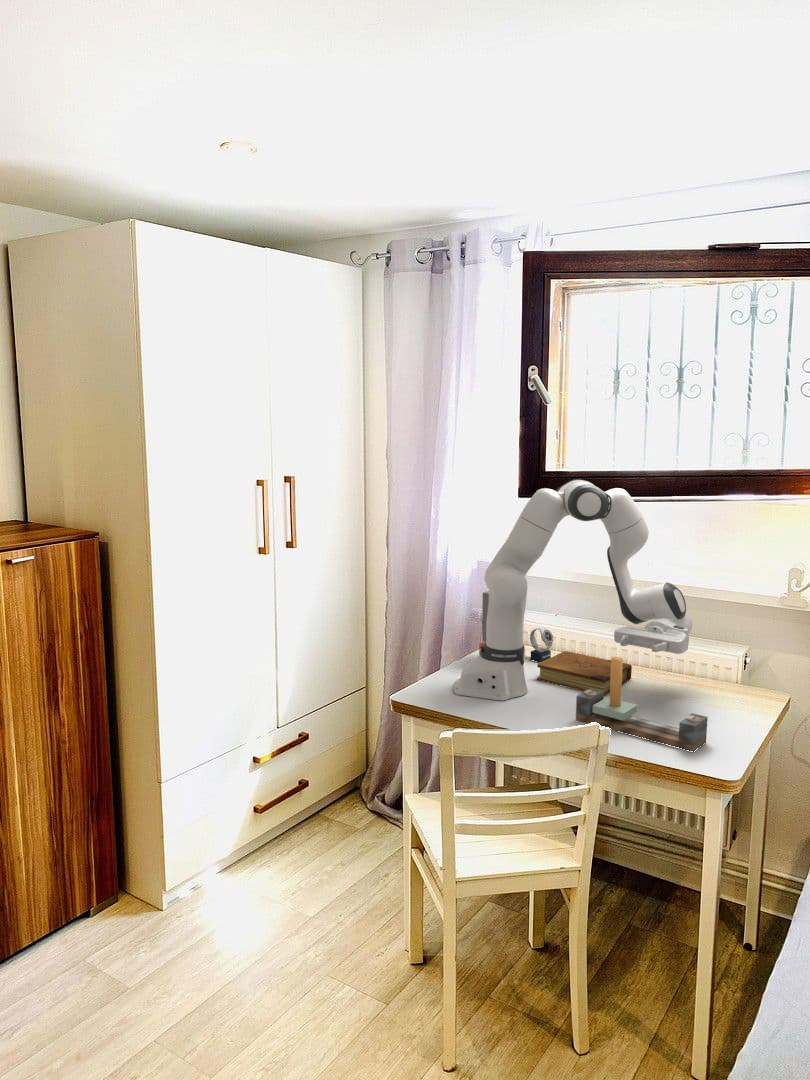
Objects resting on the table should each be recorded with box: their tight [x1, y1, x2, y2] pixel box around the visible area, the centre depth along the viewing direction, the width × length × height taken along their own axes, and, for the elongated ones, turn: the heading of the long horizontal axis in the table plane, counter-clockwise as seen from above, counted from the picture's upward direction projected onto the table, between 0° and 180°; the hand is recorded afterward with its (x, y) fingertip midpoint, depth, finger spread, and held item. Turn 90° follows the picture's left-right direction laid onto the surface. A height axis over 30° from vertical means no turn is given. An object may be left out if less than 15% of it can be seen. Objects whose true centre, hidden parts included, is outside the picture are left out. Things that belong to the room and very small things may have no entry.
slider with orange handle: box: [593, 656, 638, 721], centre depth 222 cm, size 9×8×15 cm
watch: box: [529, 626, 554, 663], centre depth 278 cm, size 6×8×11 cm
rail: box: [575, 688, 709, 753], centre depth 218 cm, size 33×8×8 cm, turn 49°
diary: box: [536, 650, 633, 697], centre depth 259 cm, size 23×19×6 cm
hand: (638, 646), depth 229 cm, fingers open, 8 cm apart
